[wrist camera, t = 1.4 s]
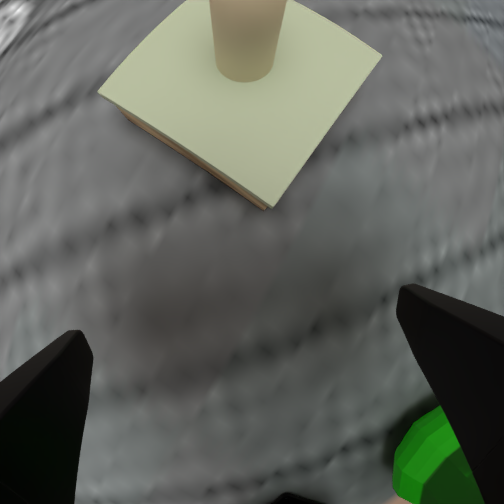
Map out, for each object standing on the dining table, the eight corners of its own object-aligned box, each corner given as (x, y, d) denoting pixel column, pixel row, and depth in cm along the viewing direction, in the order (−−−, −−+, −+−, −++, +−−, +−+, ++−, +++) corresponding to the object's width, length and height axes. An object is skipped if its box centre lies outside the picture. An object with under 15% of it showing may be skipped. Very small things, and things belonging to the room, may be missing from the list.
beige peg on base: (373, 66, 16) (471, -51, 5) (270, 210, 16) (343, 142, 5) (225, -17, 15) (222, -148, 4) (106, 101, 15) (-5, -18, 4)
